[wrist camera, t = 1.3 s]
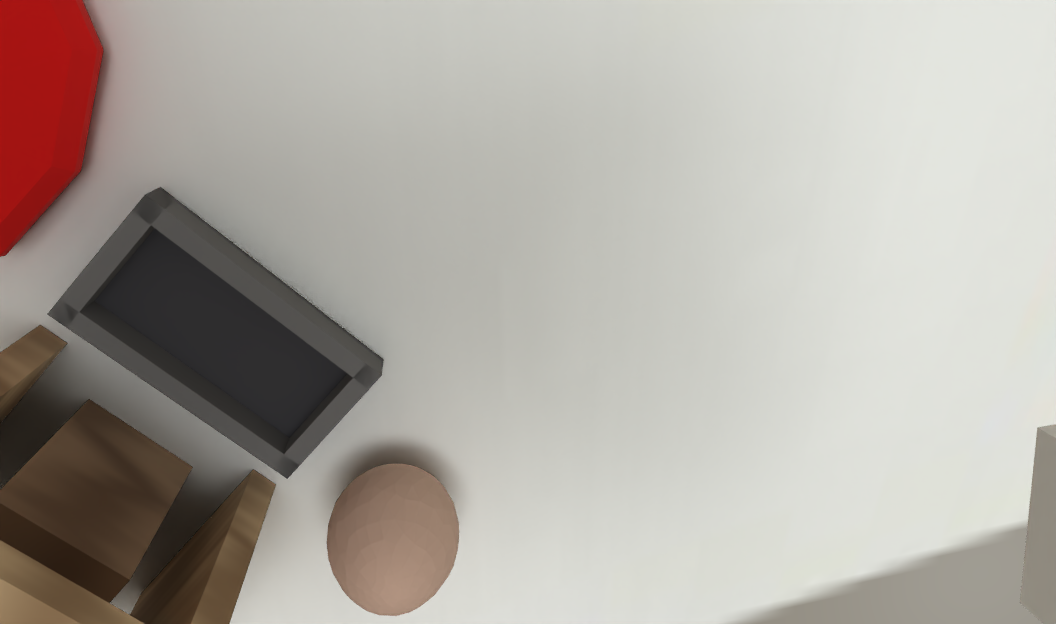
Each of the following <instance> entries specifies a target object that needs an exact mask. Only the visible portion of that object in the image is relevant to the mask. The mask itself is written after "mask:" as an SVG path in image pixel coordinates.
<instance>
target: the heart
mask: <svg viewBox="0 0 1056 624" xmlns="http://www.w3.org/2000/svg"><path fill="white" fill-rule="evenodd" d="M102 55H103V47H102V45H101V43H100V40H99V38H98V36H97V33H96V31H95V29H94V26H93V24H92V22H91V19H90V17H89V15H88V12H87V10H86V8H85V5H84V3H83V1H82V0H0V257H1V256H5V255H7V253H8V252H9V251H10V250H11V249H12V248H13V247H14V246H15V244H16V243H17V242H18V241H19V240H20V239H21V238H22V237H23V235H24V234H25V233H26V232H27V231H28V230H29V229H30V228H31V226H32V225H33V224H34V223H35V222H36V221H37V220H38V219H39V217H40V216H41V215H42V214H43V213H44V212H45V211H46V210H47V208H48V207H49V206H50V205H51V204H52V203H53V202H54V201H55V199H56V198H57V197H58V196H59V195H60V194H61V193H62V191H63V190H64V189H65V188H66V187H67V186H68V185H69V184H70V182H71V181H72V180H73V179H74V178H75V177H76V176H77V175H78V173H79V172H80V171H81V168H82V162H83V157H84V152H85V146H86V141H87V136H88V130H89V125H90V119H91V114H92V109H93V103H94V98H95V93H96V87H97V82H98V76H99V71H100V66H101V60H102Z"/></svg>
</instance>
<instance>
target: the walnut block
mask: <svg viewBox="0 0 1056 624" xmlns="http://www.w3.org/2000/svg"><path fill="white" fill-rule="evenodd" d="M191 469H192V466H190V465H189V464H187V463H186V462H184V461H183V460H181V459H180V458H178V457H177V456H175V455H174V454H172V453H171V452H169V451H168V450H166V449H164V448H163V447H161V446H160V445H158V444H157V443H155V442H154V441H152V440H151V439H149V438H148V437H146V436H145V435H143V434H142V433H140V432H139V431H137V430H136V429H134V428H133V427H131V426H130V425H128V424H127V423H125V422H123V421H122V420H120V419H119V418H117V417H116V416H114V415H113V414H111V413H110V412H108V411H107V410H105V409H104V408H102V407H101V406H99V405H98V404H96V403H95V402H93V401H92V400H90V399H89V400H88V401H87V402H86V403H85V404H84V405H83V406H82V407H81V408H80V409H79V410H78V411H77V412H76V413H75V414H74V415H73V416H72V417H71V418H70V419H69V420H68V421H67V422H66V423H65V424H64V425H63V426H62V427H61V428H60V429H59V430H58V431H57V432H56V433H55V434H54V435H53V436H52V437H51V438H50V439H49V440H48V442H47V443H46V444H45V445H44V446H43V447H42V448H41V449H40V450H39V451H38V452H37V453H36V454H35V455H34V456H33V457H32V458H31V459H30V460H29V461H28V462H27V463H26V464H25V465H24V466H23V467H22V468H21V469H20V470H19V471H18V472H17V473H16V474H15V475H14V476H13V477H12V478H11V479H10V480H9V481H8V482H7V483H6V484H5V486H4V487H3V488H2V489H1V490H0V540H1V541H3V542H4V543H6V544H8V545H10V546H11V547H13V548H15V549H17V550H18V551H20V552H22V553H23V554H25V555H27V556H29V557H30V558H32V559H34V560H36V561H37V562H39V563H41V564H42V565H44V566H46V567H48V568H49V569H51V570H53V571H55V572H56V573H58V574H60V575H61V576H63V577H65V578H67V579H68V580H70V581H72V582H73V583H75V584H77V585H79V586H80V587H82V588H84V589H86V590H87V591H89V592H91V593H92V594H94V595H96V596H98V597H99V598H101V599H103V600H105V601H106V602H108V603H110V602H111V601H112V600H113V598H114V597H115V596H116V595H117V594H118V593H119V592H120V591H121V589H122V588H123V587H124V586H125V585H126V584H127V583H128V582H129V580H130V579H131V577H132V575H133V574H134V572H135V570H136V568H137V566H138V565H139V563H140V561H141V559H142V557H143V556H144V554H145V552H146V550H147V548H148V547H149V545H150V543H151V541H152V539H153V538H154V536H155V534H156V532H157V530H158V529H159V527H160V525H161V523H162V521H163V520H164V518H165V516H166V514H167V512H168V511H169V509H170V507H171V505H172V503H173V502H174V500H175V498H176V496H177V494H178V493H179V491H180V489H181V487H182V485H183V484H184V482H185V480H186V478H187V476H188V474H189V473H190V471H191Z"/></svg>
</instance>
